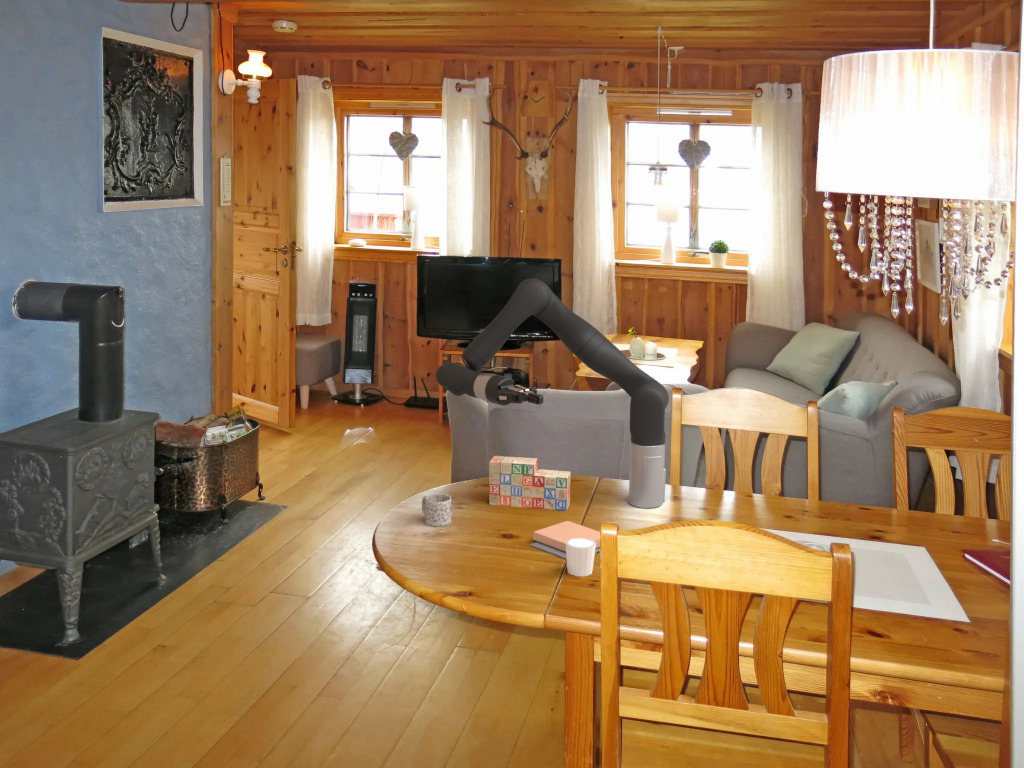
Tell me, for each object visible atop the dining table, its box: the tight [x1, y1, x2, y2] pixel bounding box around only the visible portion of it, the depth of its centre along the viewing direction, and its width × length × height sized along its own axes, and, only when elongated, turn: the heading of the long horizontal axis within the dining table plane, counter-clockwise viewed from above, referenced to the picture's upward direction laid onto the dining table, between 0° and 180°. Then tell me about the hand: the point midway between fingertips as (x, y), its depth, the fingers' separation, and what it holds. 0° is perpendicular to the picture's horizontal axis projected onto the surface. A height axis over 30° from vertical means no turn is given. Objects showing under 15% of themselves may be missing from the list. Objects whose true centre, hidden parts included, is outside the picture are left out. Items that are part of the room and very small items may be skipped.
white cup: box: [566, 538, 596, 578], centre depth 233 cm, size 7×7×7 cm
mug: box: [421, 493, 452, 528], centre depth 265 cm, size 10×7×7 cm
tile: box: [532, 520, 601, 552], centre depth 250 cm, size 12×2×14 cm
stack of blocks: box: [488, 455, 572, 512], centre depth 278 cm, size 21×6×12 cm, turn 78°
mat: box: [530, 541, 601, 561], centre depth 249 cm, size 16×14×1 cm
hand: (541, 400), depth 259 cm, fingers closed
